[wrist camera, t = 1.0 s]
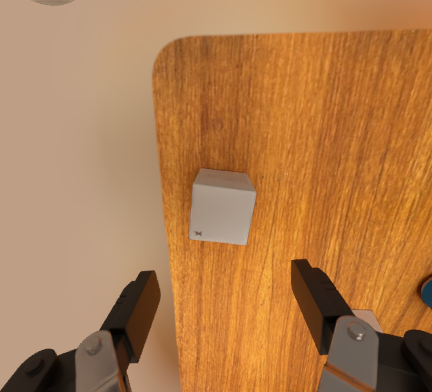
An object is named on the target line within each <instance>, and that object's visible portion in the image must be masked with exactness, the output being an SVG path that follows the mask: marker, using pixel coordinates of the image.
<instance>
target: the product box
mask: <svg viewBox="0 0 432 392" xmlns="http://www.w3.org/2000/svg"><path fill="white" fill-rule="evenodd" d="M256 193H257V192H256V190H255V188H254V186H253V184H252V182H251V180H250V178H249V176H248V174H247V173H240V172H231V171H221V170H212V169H204V168H200V170H199V172H198V175H197V177H196V178H195V181H194V183H193V190H192V203H191V213H190V226H189V239H193V240H203V241H213V242H222V243H230V244H239V245H246V244H247V239H248V235H249V230H250V225H251V220H252V215H253V210H254V205H255V199H256Z"/></svg>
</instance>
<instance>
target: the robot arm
mask: <svg viewBox="0 0 432 392" xmlns="http://www.w3.org/2000/svg"><path fill="white" fill-rule="evenodd" d="M291 285H292V290H293V293H294V295H295V298H296V300H297V302H298V305H299V307H300V309H301V312H302V314H303V316H304V319H305V321H306V324H307V326H308V328H309V331H310V333H311V335H312V338H313V340H314V342H315V345H316V347H317V349H318V352H319V354H320V355H328V357H327V361H326V364H324V367H323V370H322V374H321V378H320V382H319V386H318V390H317V392H432V334H430V333H428V332H425V331H421V330H409V331H407V332H406V333H405V334H404V338H403V337H398V336H394V335H390V334H385V333H381V332H378V331H375V330H374V329H373V328H372V327H371V326H370V325H369V324H368V323H367V322H365V321H364V320H362V319H360V318H357V317H356V316H355V314H354V313H353V312H352V310H351V309H350V307H349V306H348V304H347V303H346V302H345V300H344V299H343V297H342V296H341V294H340V293H339V292H338V290H336V287H335V286H334V284H333V283H332V282H331V280H330V279H329V277H328V276H327V274H326V273H324V272H323V271H322V270H320V269H319V268H312V267H311V266H310V264H309V262H308V261H307V260H306V259H296V260H292V261H291ZM160 296H161V295H160V288H159V284H158V280H157V277H156V273H155V271H154V270H153V271H141V272H140V273H139V275H138V277H137V278H136V280H135V281H132V282H130V283H129V284H128V285H127V286H126V287H125V288H124V290H123V291H122V293H121V295H120V297H119V298H118V300H117V301H116V304H115V305H114V306H113V308H112V310H111V312H110V313H109V315H108V316H107V318H106V320H105V321H104V323H103V325H102V327H101V328H100V330H99V331H97V332H95V333H93V334H91V335H90V336H88V337H87V338H86V339H85V340H84V341H83V342H82V343H81V344H80V345H79V347H78V348H77V349H74V350H71V351H69V352H66V353H63V354H61V355H58V356H57V354H56V353H55V351H54V350H53V349H44V350H41V351H39V352H37V353H35V354H34V355H32V356H31V357H29V358H28V359H27V360H26V361H24V363H22V364H21V365H20V367H19V368H18V369H17V370H16V372H15V373H14V374H13V375H12V377H11V378H10V379H9V380H8V382H7V383H6V384H5V386H4V387H3V388H2V389H1V391H0V392H132V391H131V387H130V383H129V379H128V375H127V372H126V371H127V369H128V366H129V364H130V363H138V362H139V359H140V356H141V353H142V350H143V348H144V344H145V342H146V339H147V336H148V333H149V331H150V328H151V325H152V322H153V319H154V316H155V313H156V311H157V308H158V305H159V302H160Z"/></svg>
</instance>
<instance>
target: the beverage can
mask: <svg viewBox="0 0 432 392" xmlns="http://www.w3.org/2000/svg"><path fill="white" fill-rule="evenodd" d="M421 290H422V291H421V299H422V301H423V302H424V303H425V304H426V305H428V306H429V307H430V308H431V309H432V277H430V278H429V279H428V280H427V281H425V283H424V284H423V286H422V289H421Z"/></svg>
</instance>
